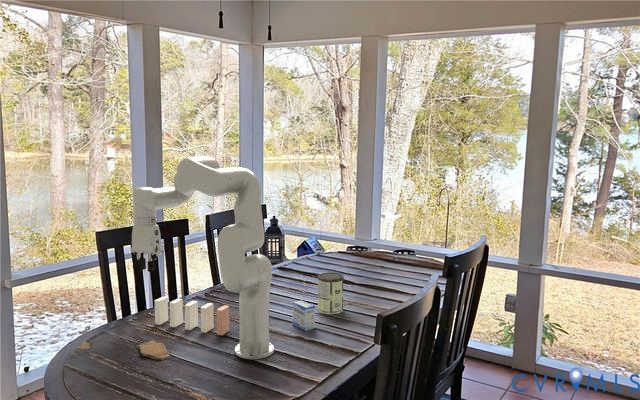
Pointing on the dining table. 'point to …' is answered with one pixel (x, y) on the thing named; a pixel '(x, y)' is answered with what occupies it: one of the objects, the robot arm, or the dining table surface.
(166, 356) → the pottery shard
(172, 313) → the domino
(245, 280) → the robot arm
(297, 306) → the medicine box
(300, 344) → the dining table surface
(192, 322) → the domino
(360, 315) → the dining table surface
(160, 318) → the domino far
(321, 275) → the coffee can
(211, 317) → the domino
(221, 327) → the terracotta domino
